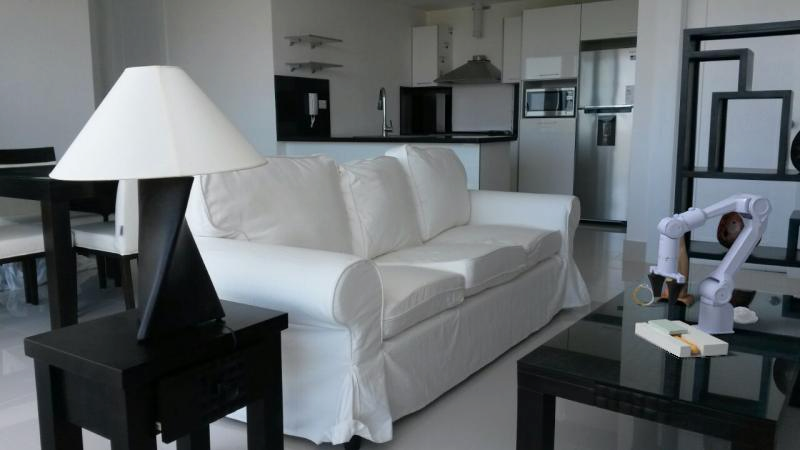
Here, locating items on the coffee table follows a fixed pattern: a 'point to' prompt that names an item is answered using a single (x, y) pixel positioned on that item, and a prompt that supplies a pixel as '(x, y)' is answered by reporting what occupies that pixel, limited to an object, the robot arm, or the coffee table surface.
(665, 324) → the cover
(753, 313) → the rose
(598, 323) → the coffee table surface
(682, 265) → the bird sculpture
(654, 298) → the ring
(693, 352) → the orange rounded rod
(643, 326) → the board
